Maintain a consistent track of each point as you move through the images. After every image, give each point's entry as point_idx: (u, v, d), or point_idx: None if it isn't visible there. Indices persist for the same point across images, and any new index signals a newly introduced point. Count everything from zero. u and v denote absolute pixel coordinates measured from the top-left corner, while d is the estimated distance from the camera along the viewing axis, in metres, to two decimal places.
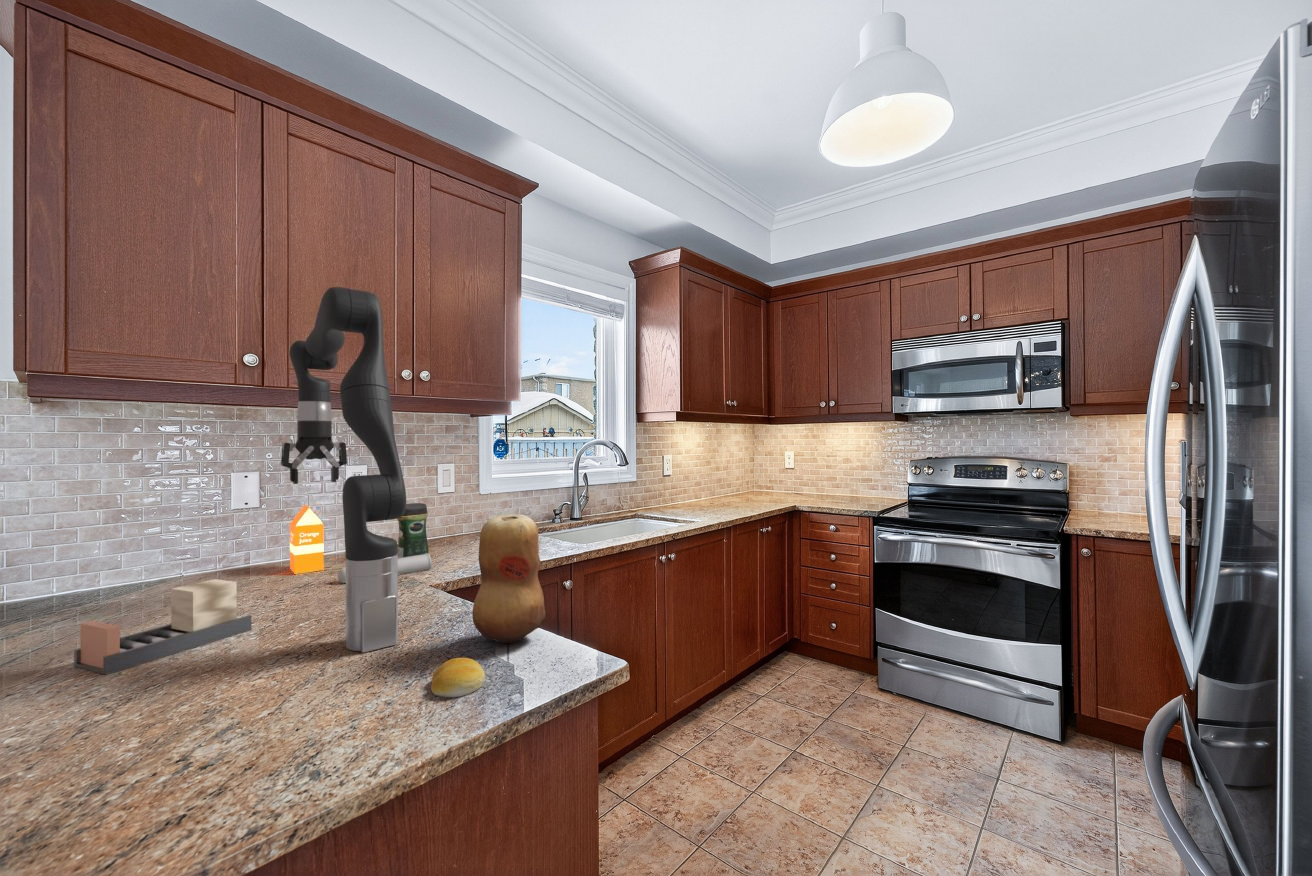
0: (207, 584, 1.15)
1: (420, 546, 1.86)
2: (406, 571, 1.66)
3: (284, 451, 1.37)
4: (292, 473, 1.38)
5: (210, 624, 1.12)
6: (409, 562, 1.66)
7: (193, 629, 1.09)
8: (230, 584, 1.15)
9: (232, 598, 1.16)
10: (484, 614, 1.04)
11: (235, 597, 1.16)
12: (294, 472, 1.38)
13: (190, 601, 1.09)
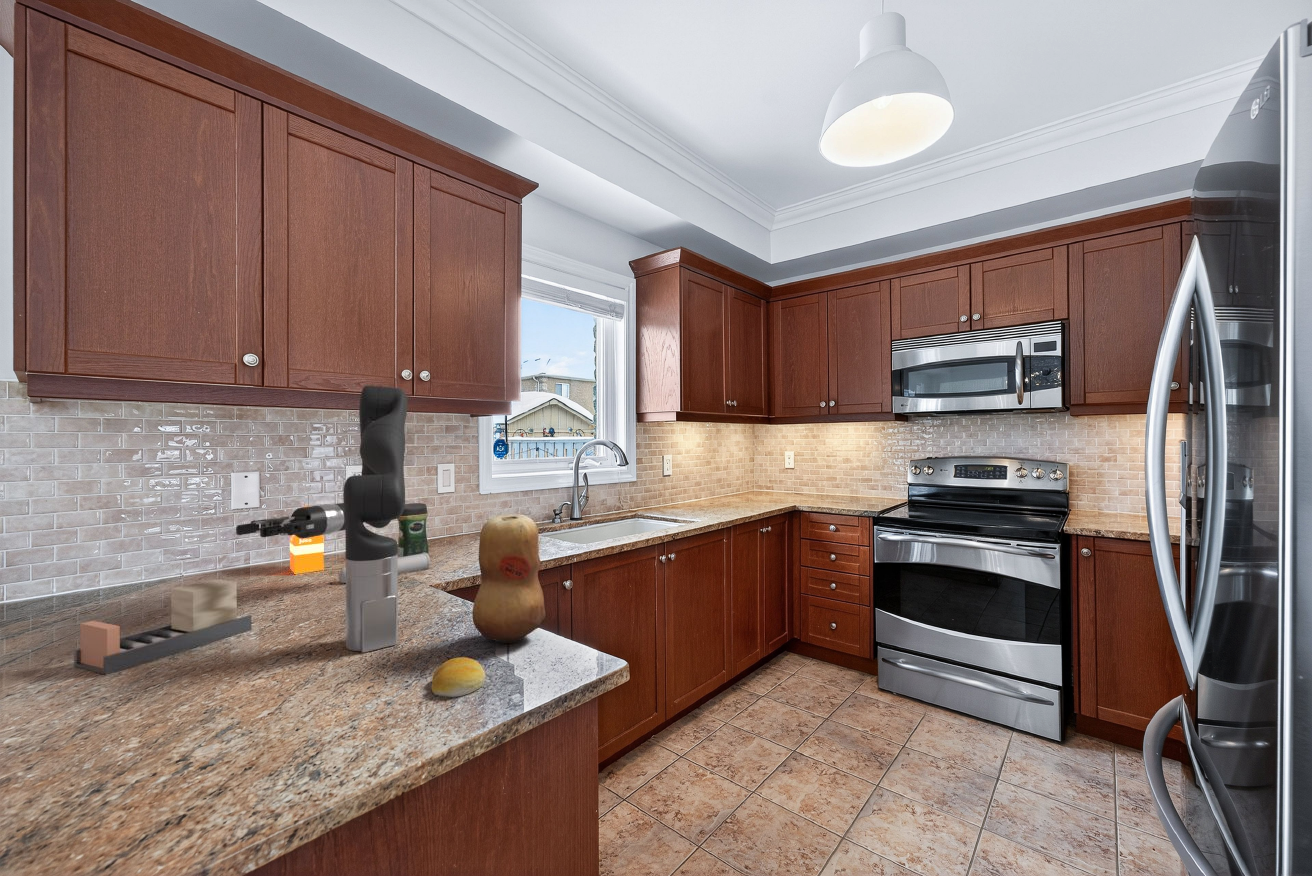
0: (207, 584, 1.15)
1: (420, 546, 1.86)
2: (405, 570, 1.66)
3: None
4: None
5: (210, 624, 1.12)
6: (408, 561, 1.67)
7: (193, 629, 1.09)
8: (230, 584, 1.15)
9: (232, 598, 1.16)
10: (484, 614, 1.04)
11: (235, 597, 1.16)
12: None
13: (190, 601, 1.09)
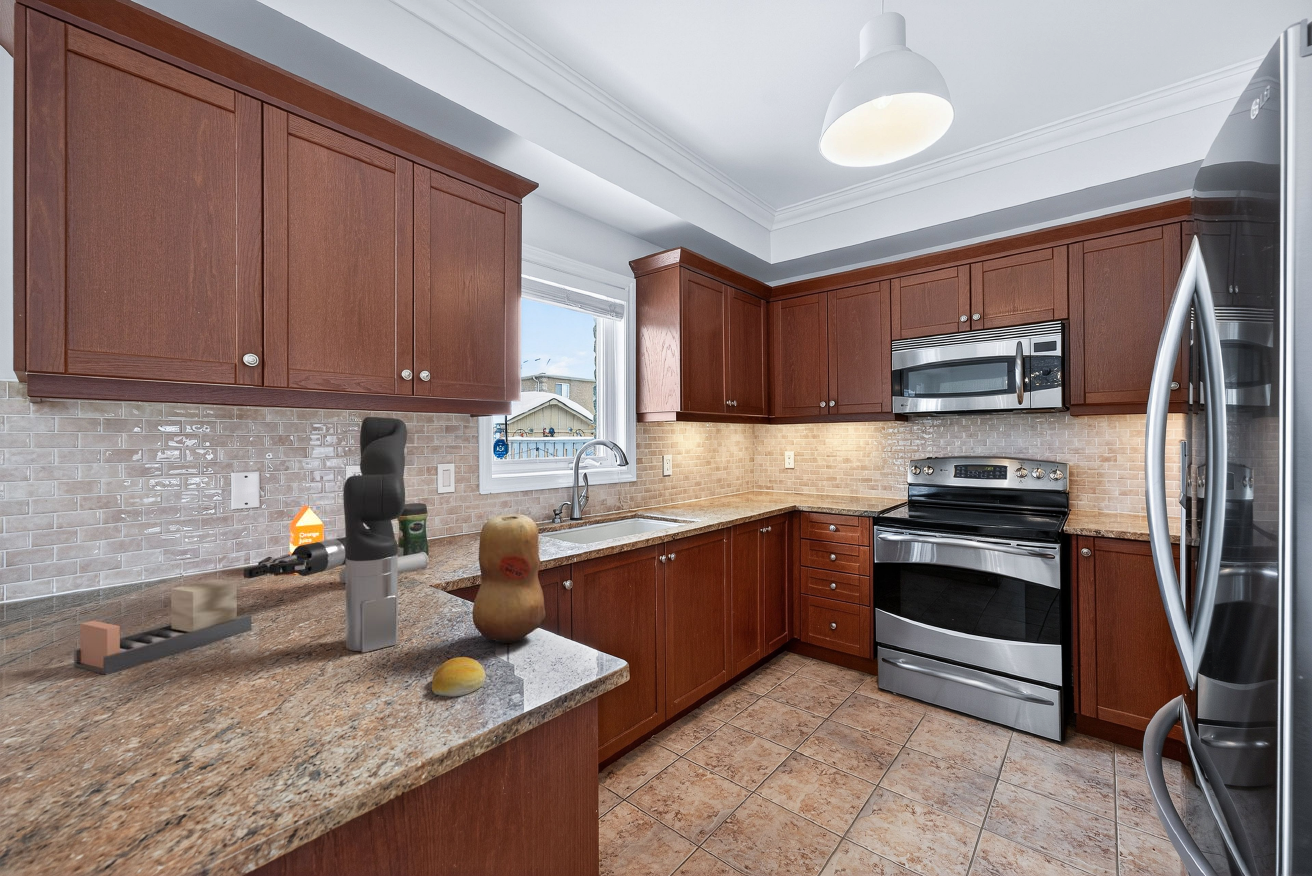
0: (207, 584, 1.15)
1: (420, 546, 1.86)
2: (405, 570, 1.67)
3: (264, 559, 1.30)
4: None
5: (210, 624, 1.12)
6: (408, 561, 1.68)
7: (193, 629, 1.09)
8: (230, 584, 1.15)
9: (232, 598, 1.16)
10: (484, 614, 1.04)
11: (235, 597, 1.16)
12: None
13: (190, 601, 1.09)
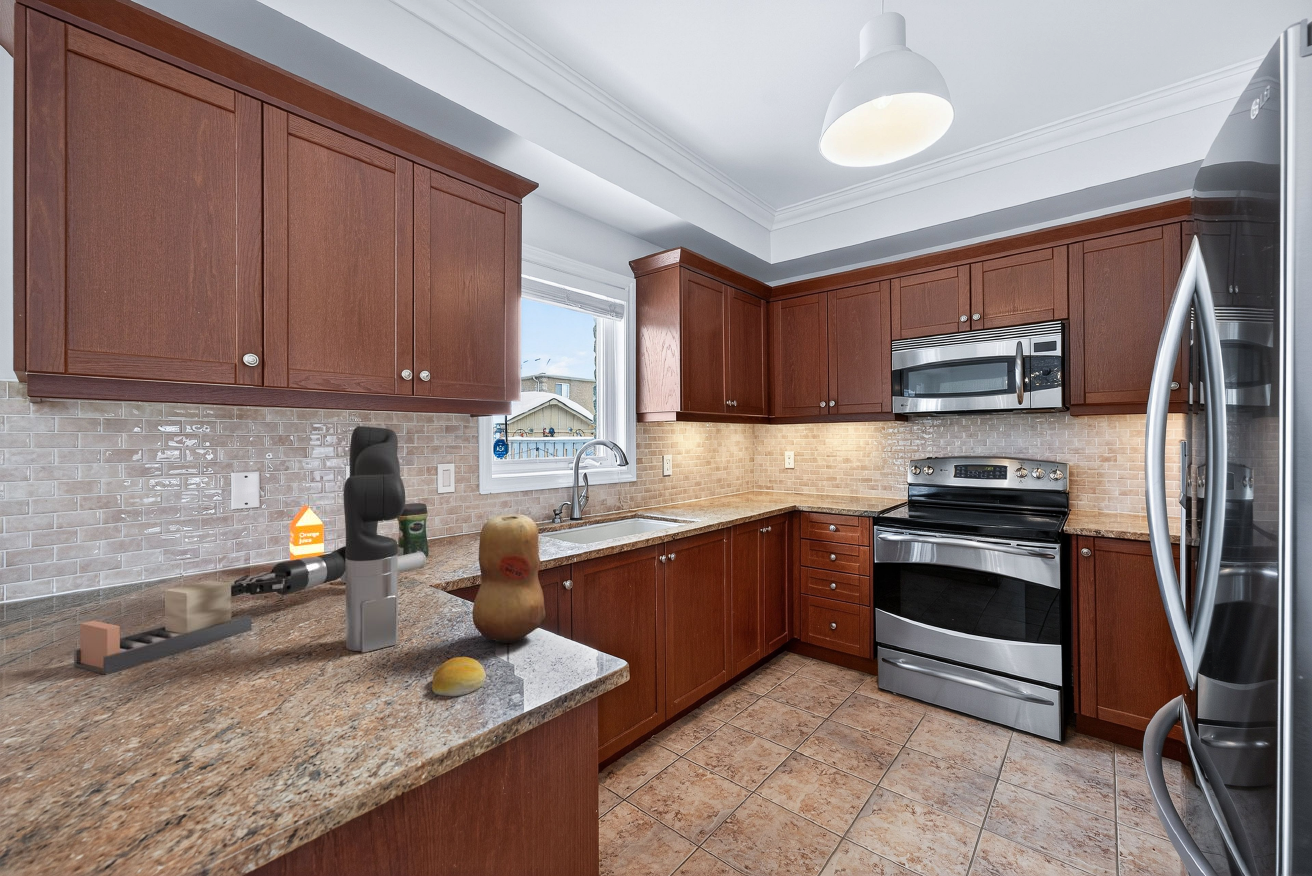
0: (201, 585, 1.14)
1: (420, 546, 1.86)
2: (403, 569, 1.68)
3: None
4: None
5: (204, 626, 1.11)
6: (406, 560, 1.68)
7: (187, 631, 1.08)
8: (224, 585, 1.14)
9: (226, 599, 1.15)
10: (484, 614, 1.04)
11: (229, 598, 1.15)
12: None
13: (183, 602, 1.08)
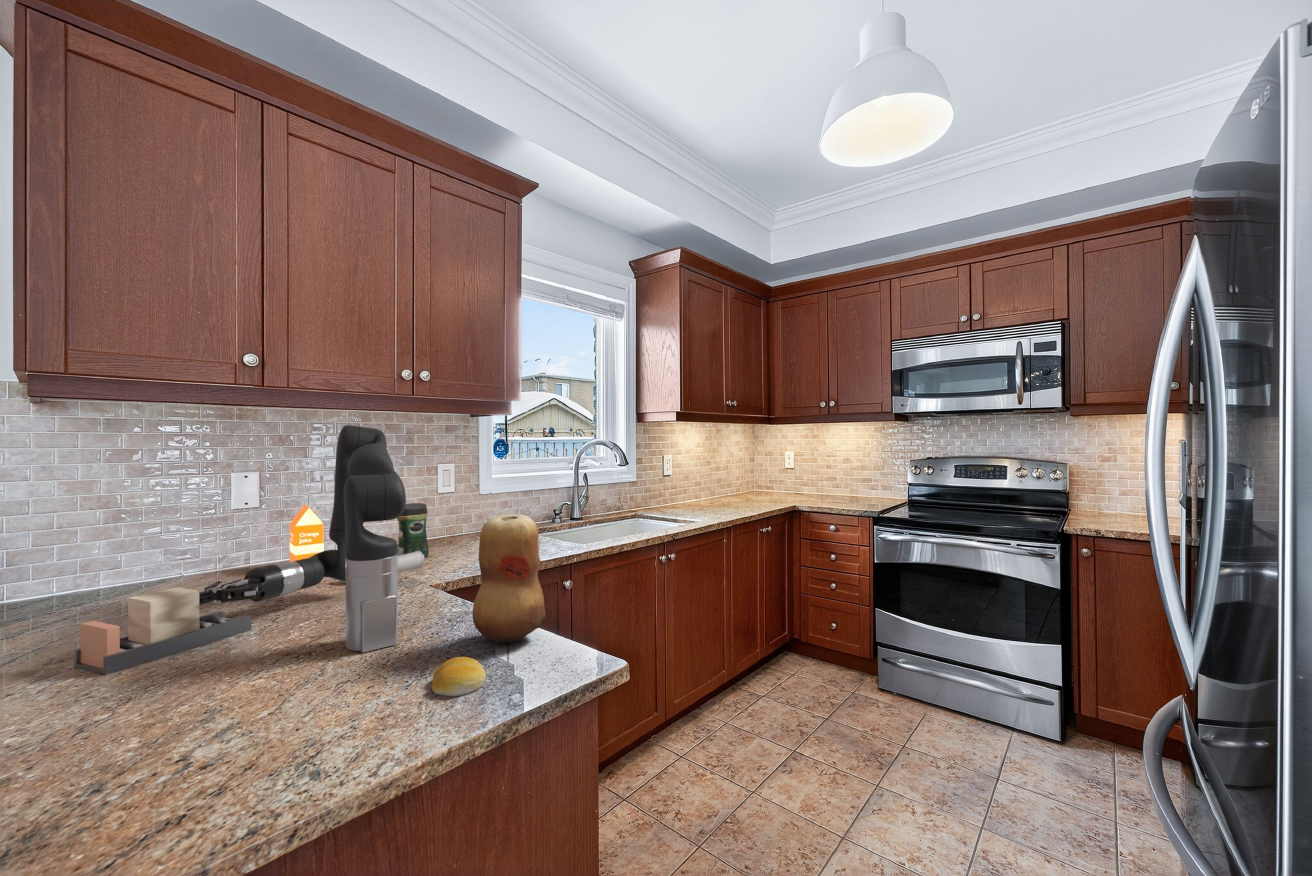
0: (167, 593, 1.08)
1: (420, 546, 1.86)
2: (402, 569, 1.68)
3: None
4: None
5: (170, 635, 1.05)
6: (405, 560, 1.69)
7: (150, 641, 1.03)
8: (192, 593, 1.09)
9: (194, 608, 1.09)
10: (484, 614, 1.04)
11: (197, 606, 1.10)
12: None
13: (147, 611, 1.03)
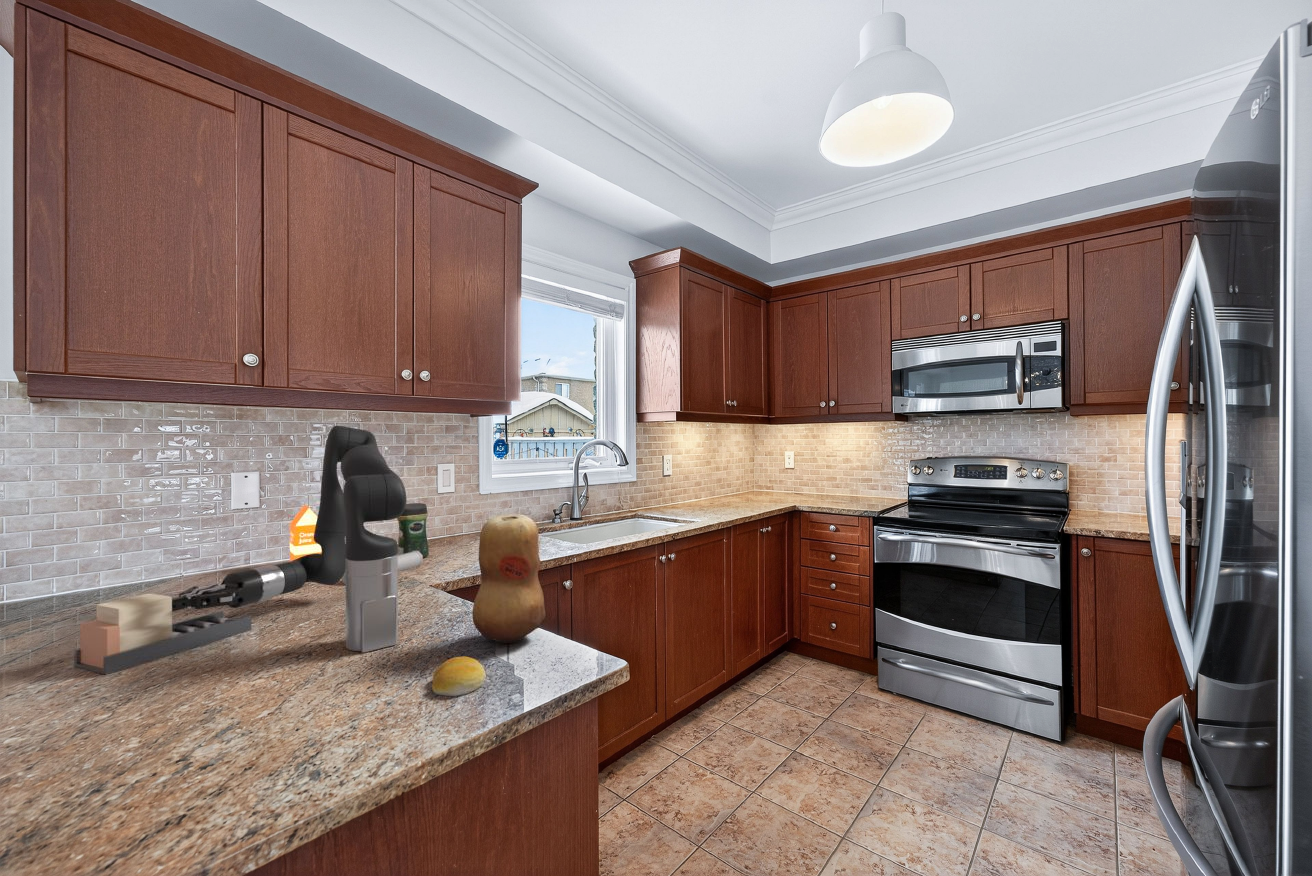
0: (138, 599, 1.04)
1: (420, 546, 1.86)
2: (401, 569, 1.69)
3: None
4: None
5: (140, 644, 1.01)
6: (404, 560, 1.69)
7: None
8: (164, 599, 1.05)
9: (166, 615, 1.05)
10: (484, 614, 1.04)
11: (170, 613, 1.05)
12: None
13: (115, 618, 0.99)
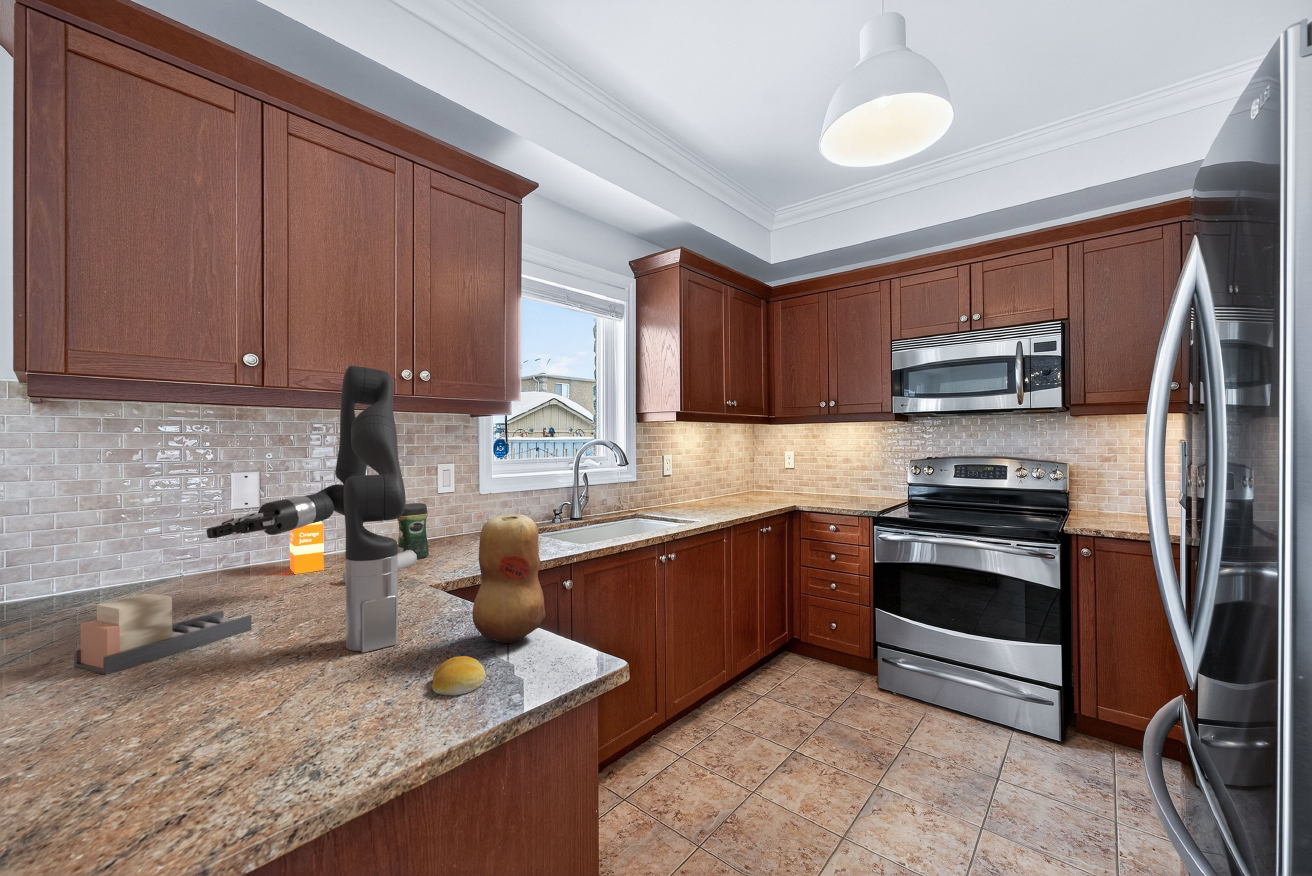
0: (138, 599, 1.04)
1: (420, 546, 1.86)
2: (398, 568, 1.70)
3: None
4: None
5: (140, 644, 1.01)
6: (401, 559, 1.70)
7: None
8: (164, 599, 1.05)
9: (167, 615, 1.05)
10: (484, 614, 1.04)
11: (170, 613, 1.05)
12: None
13: (115, 618, 0.99)
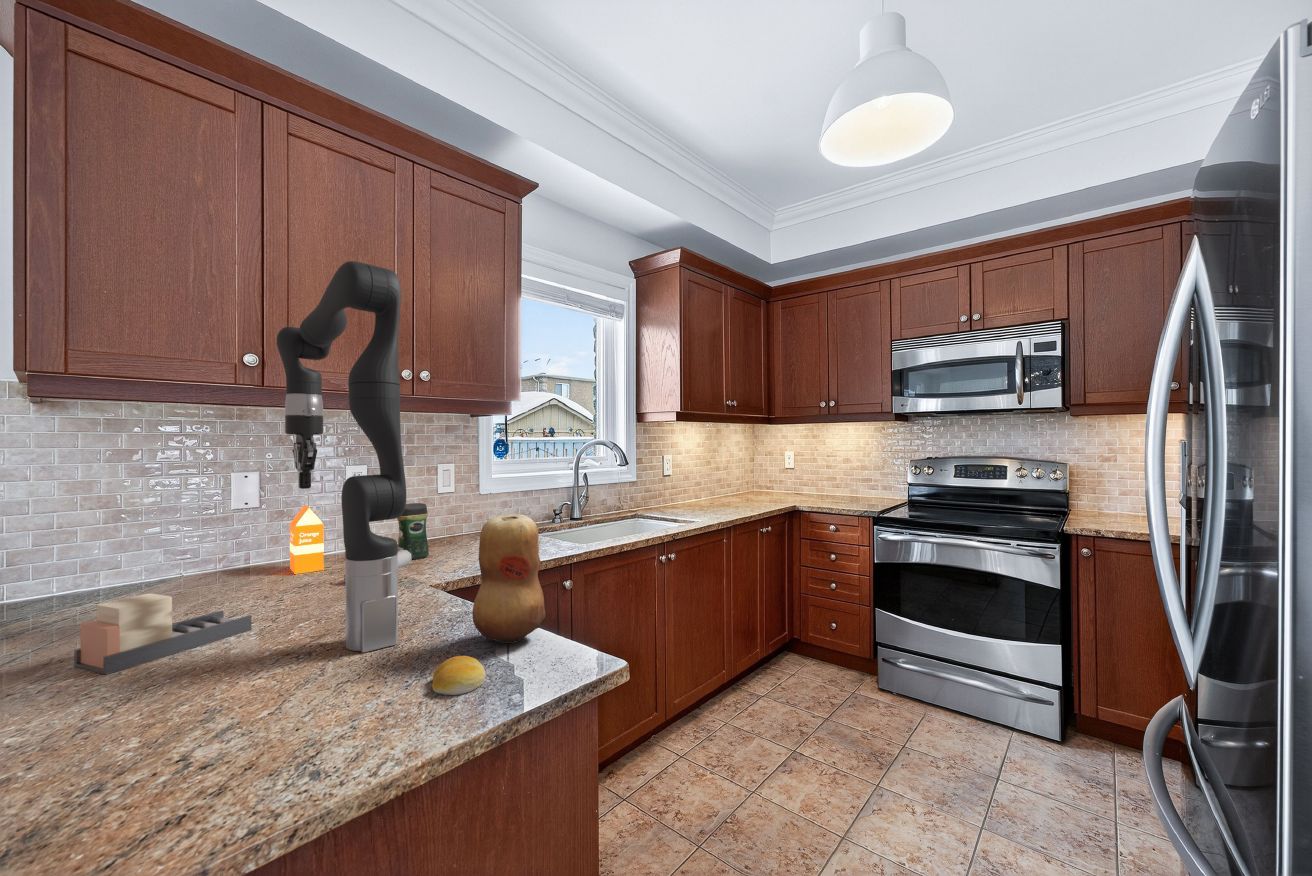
0: (138, 599, 1.04)
1: (420, 546, 1.86)
2: None
3: None
4: None
5: (140, 644, 1.01)
6: None
7: None
8: (164, 599, 1.05)
9: (167, 615, 1.05)
10: (484, 614, 1.04)
11: (170, 613, 1.05)
12: None
13: (115, 618, 0.99)
